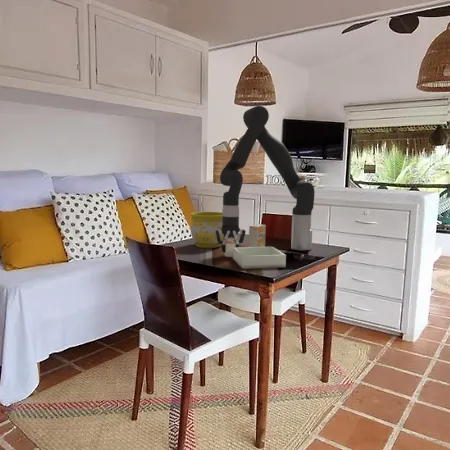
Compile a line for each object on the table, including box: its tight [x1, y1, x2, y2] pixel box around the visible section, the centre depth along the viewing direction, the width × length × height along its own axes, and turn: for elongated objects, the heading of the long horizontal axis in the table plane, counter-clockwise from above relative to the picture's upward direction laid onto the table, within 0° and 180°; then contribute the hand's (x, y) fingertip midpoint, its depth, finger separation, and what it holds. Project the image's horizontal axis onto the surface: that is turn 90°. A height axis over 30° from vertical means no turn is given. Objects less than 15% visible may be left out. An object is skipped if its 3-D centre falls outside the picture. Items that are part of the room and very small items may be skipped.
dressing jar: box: [224, 239, 236, 258], centre depth 193 cm, size 5×5×7 cm
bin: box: [232, 246, 287, 270], centre depth 180 cm, size 18×18×5 cm
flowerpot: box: [190, 211, 224, 249], centre depth 215 cm, size 18×18×16 cm
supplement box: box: [248, 223, 267, 247], centre depth 200 cm, size 8×5×13 cm, turn 148°
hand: (230, 252), depth 193 cm, fingers closed on dressing jar, 5 cm apart
